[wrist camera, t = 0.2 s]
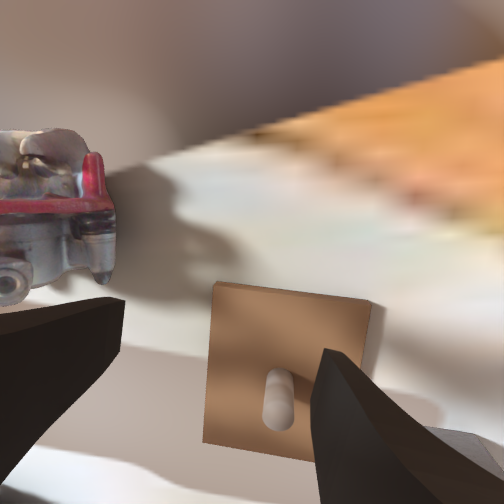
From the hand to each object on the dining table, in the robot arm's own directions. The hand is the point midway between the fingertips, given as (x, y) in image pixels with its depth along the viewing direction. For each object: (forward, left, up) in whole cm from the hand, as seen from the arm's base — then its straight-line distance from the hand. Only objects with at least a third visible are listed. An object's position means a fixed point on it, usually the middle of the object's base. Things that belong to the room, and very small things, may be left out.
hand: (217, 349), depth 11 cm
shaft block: (-7, -3, -10) cm, 12 cm away
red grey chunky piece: (+3, +13, -10) cm, 17 cm away
